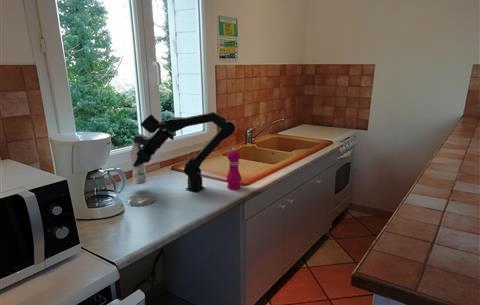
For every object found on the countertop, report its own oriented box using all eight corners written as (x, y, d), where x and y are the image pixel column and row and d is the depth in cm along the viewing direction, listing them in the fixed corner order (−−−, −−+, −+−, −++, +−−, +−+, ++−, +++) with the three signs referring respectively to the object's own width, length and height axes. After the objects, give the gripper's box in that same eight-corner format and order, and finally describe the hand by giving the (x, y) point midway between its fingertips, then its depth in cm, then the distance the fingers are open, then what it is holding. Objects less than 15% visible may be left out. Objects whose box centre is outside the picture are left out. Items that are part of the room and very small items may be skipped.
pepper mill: (233, 183, 159) (233, 145, 154) (244, 187, 155) (244, 147, 149) (223, 187, 154) (222, 147, 148) (234, 191, 149) (234, 150, 144)
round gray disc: (163, 198, 141) (163, 198, 141) (139, 209, 131) (139, 209, 131) (143, 192, 148) (143, 191, 148) (119, 201, 138) (119, 201, 138)
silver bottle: (150, 182, 149) (147, 141, 144) (137, 186, 144) (133, 144, 139) (142, 179, 153) (139, 139, 148) (130, 183, 148) (125, 141, 143)
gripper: (148, 123, 151) (126, 147, 153) (139, 132, 133) (115, 158, 135) (166, 139, 154) (144, 162, 156) (160, 149, 136) (136, 175, 138)
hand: (135, 163), depth 146 cm, fingers closed on silver bottle, 6 cm apart
